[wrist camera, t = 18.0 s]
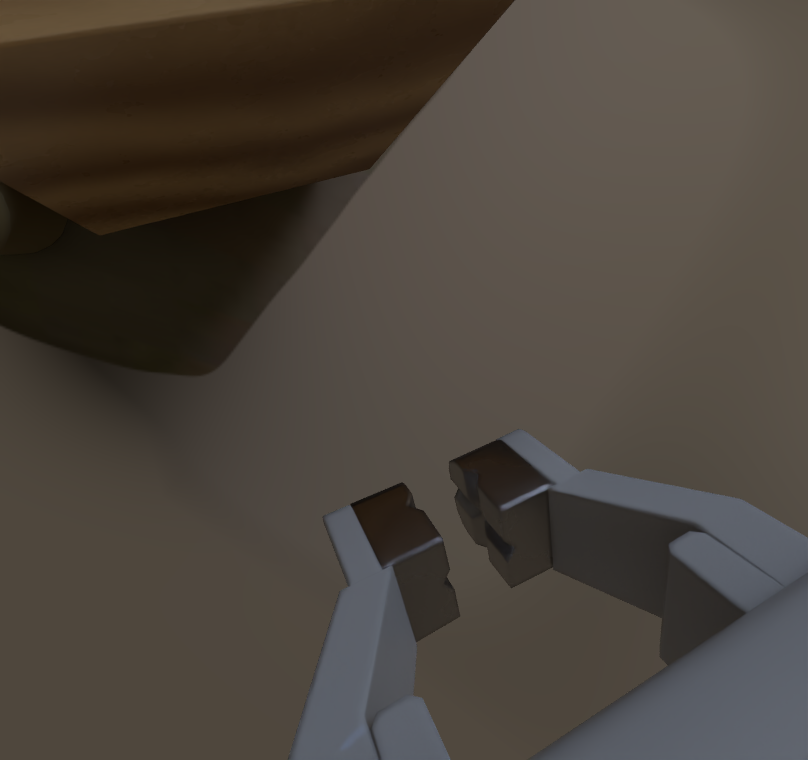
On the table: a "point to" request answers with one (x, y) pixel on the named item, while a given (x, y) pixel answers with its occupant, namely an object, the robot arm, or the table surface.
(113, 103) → the bin lid
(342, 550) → the robot arm
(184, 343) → the table surface
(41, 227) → the olive tapered rounded piece
